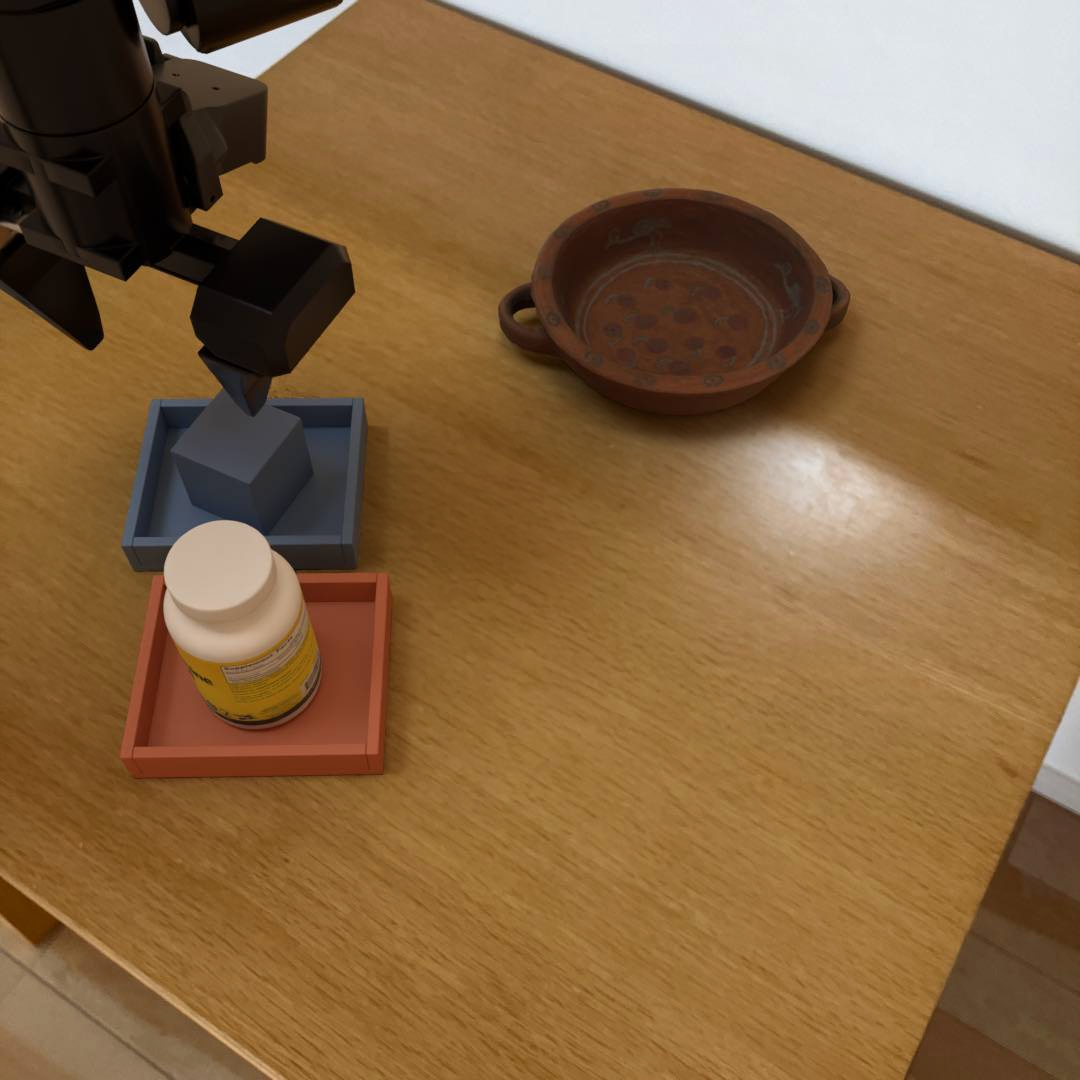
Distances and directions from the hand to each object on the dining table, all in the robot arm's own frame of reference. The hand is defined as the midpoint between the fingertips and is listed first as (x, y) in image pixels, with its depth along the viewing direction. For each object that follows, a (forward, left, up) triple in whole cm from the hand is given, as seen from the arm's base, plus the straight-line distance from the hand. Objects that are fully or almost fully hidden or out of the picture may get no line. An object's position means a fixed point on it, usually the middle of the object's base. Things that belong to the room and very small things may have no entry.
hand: (174, 376), depth 55 cm
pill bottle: (+3, -10, -12) cm, 16 cm away
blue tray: (+1, +2, -12) cm, 12 cm away
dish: (+26, +14, -12) cm, 32 cm away
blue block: (+1, +2, -12) cm, 12 cm away
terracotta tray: (+3, -10, -12) cm, 16 cm away
